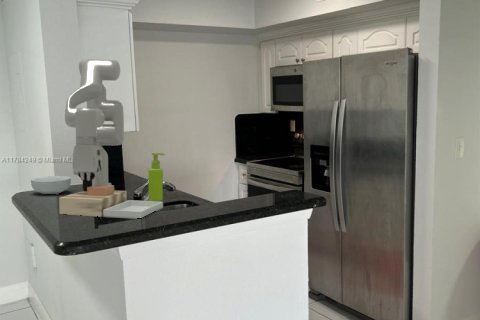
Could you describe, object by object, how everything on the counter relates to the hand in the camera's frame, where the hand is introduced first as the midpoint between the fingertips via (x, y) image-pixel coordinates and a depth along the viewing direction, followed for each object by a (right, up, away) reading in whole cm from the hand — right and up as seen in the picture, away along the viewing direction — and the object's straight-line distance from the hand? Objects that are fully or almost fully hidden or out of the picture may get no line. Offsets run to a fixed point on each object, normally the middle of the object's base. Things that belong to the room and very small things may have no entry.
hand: (87, 190), depth 167 cm
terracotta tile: (+5, -1, -1) cm, 5 cm away
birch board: (+3, -7, 0) cm, 8 cm away
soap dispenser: (+22, -6, +23) cm, 32 cm away
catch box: (+18, -8, -3) cm, 20 cm away
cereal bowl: (-29, -4, +36) cm, 46 cm away
